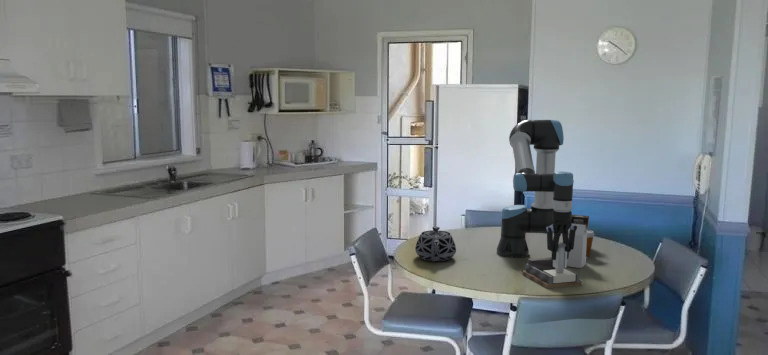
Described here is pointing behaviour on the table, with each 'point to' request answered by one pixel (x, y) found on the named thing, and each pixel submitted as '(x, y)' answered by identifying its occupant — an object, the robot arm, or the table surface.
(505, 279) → the table surface
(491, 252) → the table surface
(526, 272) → the base
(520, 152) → the robot arm
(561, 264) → the white pillar stand
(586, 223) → the coffee box
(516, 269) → the table surface
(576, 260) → the milk carton
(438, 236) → the black lattice pot
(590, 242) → the disposable coffee cup
